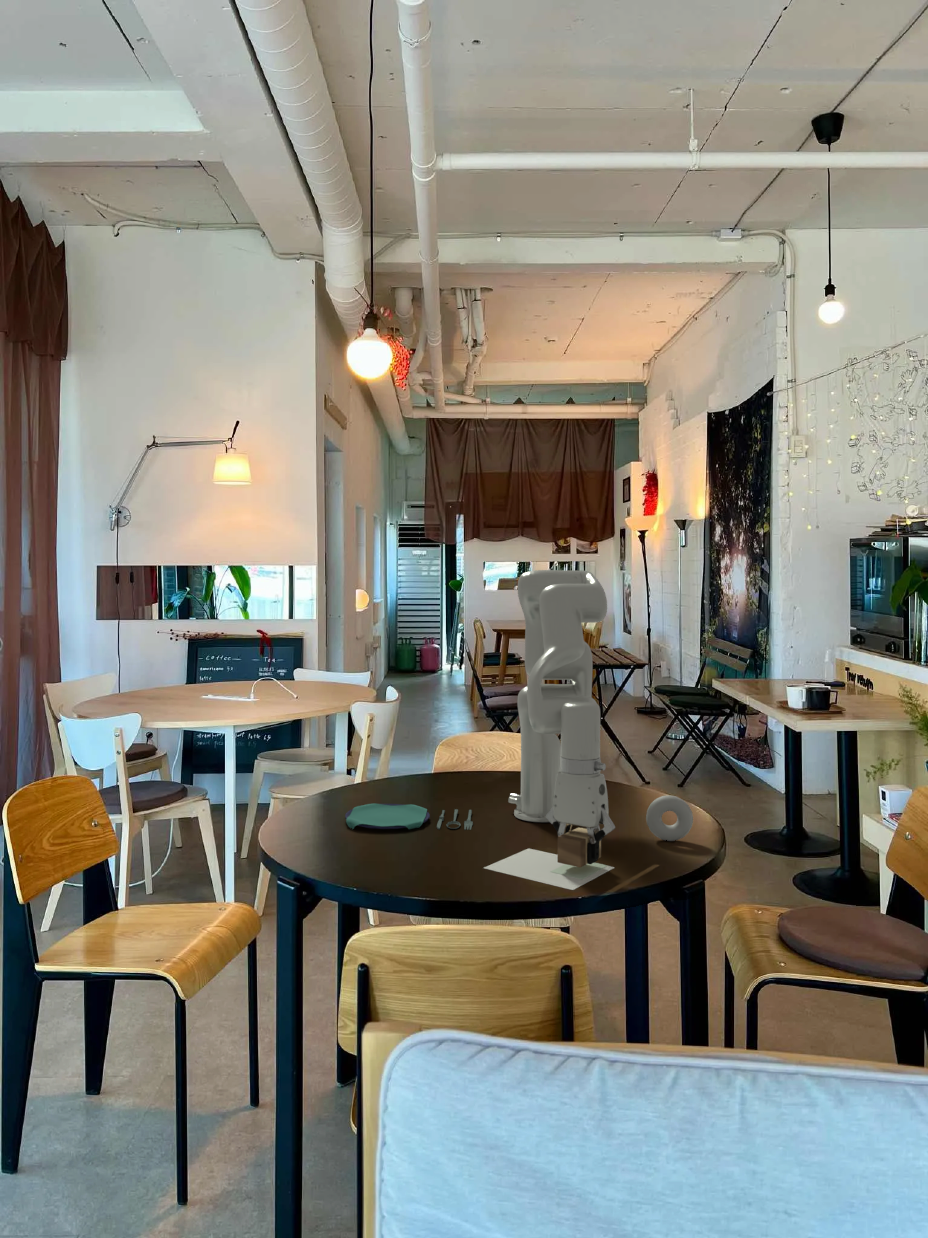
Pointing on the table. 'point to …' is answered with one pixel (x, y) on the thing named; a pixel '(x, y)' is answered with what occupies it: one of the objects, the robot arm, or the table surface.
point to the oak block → (574, 847)
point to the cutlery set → (395, 817)
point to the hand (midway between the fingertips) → (579, 858)
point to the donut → (675, 806)
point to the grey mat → (548, 869)
